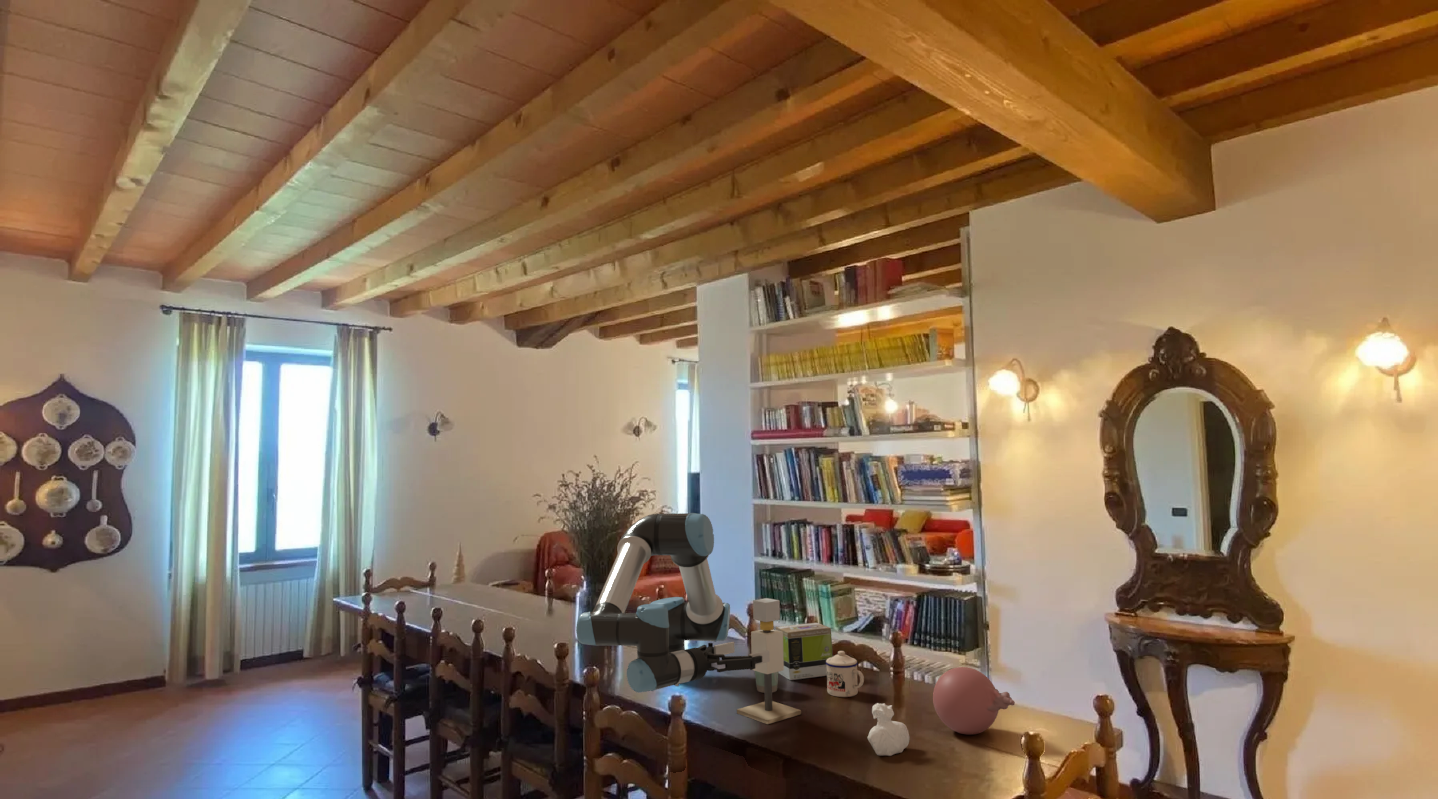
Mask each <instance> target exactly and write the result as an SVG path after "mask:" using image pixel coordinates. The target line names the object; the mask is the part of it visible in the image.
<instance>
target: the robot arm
mask: <svg viewBox="0 0 1438 799" xmlns="http://www.w3.org/2000/svg"><path fill="white" fill-rule="evenodd" d="M714 536H715V535H714V528H713V524H712V521H711V519H710V517H709V516H707V515H706V514H704V513H695V512H690V513H689V512H688V513H683V512H682V513H651V514H648V515H646V516H644V517H641V518H640V519H638V520H636V521H635V522H634V523H633V524H631V525H630V526H629V527H628V528H627V529H626V531H624V533H623V534H622V535H621V537H620V539H619V541H618V544H617V547H616V549H617V550H616V551H617V555H616V557H615V560H614V562H613V564H612V566H611V569H610V571H609V574H608V576H607V578H606V581H605V583H604V585H603V588H602V589H601V592H600V595H599V597H598V600H597V601H596V604H595V606H594V608H593V610H592V611H588V612H582V613H580V614H579V616H578V618H577V621H576V626H575V628H576V630H575V631H576V637H577V641H578V642H579V643H580V644H582V645H587V646H588V645H589V646H594V647H595V646H622V647H623V646H624V647H626V646H627V647H636V651H637V652H636V653H637V654H636V658H635V659H633V660H631V661H630V662H629V663H628V664H627V669H626V679H627V682H628V685H629V687H630V688H631V690H632V691H633V692H636V693H641V694H642V693H646V692H654V691H657V690H660V689H664V688H668V687H672V686H675V687H679V686H680V684H685V683H688V682H693V681H698V680H702V679H703V678H704V677H705V676H706V674H707V672H708V671H709V672H711V671H715V670H716V672H717V673H723V672H728V671H729V672H731V671H742V670H744V671H745V670H750V671H754V670H753V669H755V665H757V664H762V663H766V662H770V658H769V651H768V650H766V651H762V652H757V653H753V654H752V653H749V654H748V655H729V654H733V653H735V642H734V641H729V642H724V641H726V640H727V638H728V636H729V631H730V630H729V629H730V619H731V604H729V603H728V602H725V601H723V600H722V598H721V597H720V596H719V595H718V594H716V591H715V585H714V581H713V577H712V573H711V568H710V565H709V561H708V557H709V556H710V555H711V554H712V553H713V550H714V546H715V537H714ZM652 556H670V558H671V561H672V563H673V564H675V565H676V566H678V568H679V571H680V576H681V578H682V582H683V583H682V584H683V586H684V590H685V594H686V597H687V600H688V601H687V602H685V598H684V597H682V596H680V597H679V596H673V597H666V598H661V599H658V600H657V599H656V600H654V601H651V602H650V603H649V604H648V603H646V604H641V605H639V606H637V608H636V612H626V610H627V608H628V605H629V603H630V600H631V598H632V596H633V593H634V590H635V588H636V584H637V581H639V580H638V579H639V577H640V576H641V571H642V569H643V567H644V564H645V563H647V562H648V561H649V560H650V558H651V557H652ZM685 641H695V642H696V641H697V642H698V641H699V642H700V641H701V642H708V643H707V644H708V646H707V644H703V645H700V646H698V647H691V648H685ZM712 642H713V643H712ZM716 642H724V643H719V644H716V645H713V644H714V643H716ZM726 655H728V656H726Z"/></svg>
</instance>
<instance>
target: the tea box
mask: <svg viewBox="0 0 1438 799" xmlns="http://www.w3.org/2000/svg"><path fill="white" fill-rule="evenodd" d="M775 630H777V631H782V632H783V658H784V670H783V671H779V672H778V675H781V676H782V677H783V678H785V679H787V680H788V681H794V680H802V679H803V680H804V679H811V678H819V677H827V664H826V660H827V659H828V658H831V657H833V656H834V655H833V642H832V628H831V627H829V626H826V625H824V624H821V623H819V622H810V623H799V624H792V625H791V624H789V625H781V626H776V627H775Z"/></svg>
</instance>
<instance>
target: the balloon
mask: <svg viewBox="0 0 1438 799" xmlns="http://www.w3.org/2000/svg"><path fill="white" fill-rule="evenodd" d="M932 692H933V694H932V702H933V703H932V704H933V707H934V710H935V712H936V715H937V716H938V718H939V719H940V721H941V722H942V723H943V724H944V725H945V726H946V727H947V728H949V729H950V730H951V731H954V732H955V733H958V734H962V735H970V736H971V735H977V734H980V733H983V732H985V731H986V730H989V728H991V726H992V725H993V724H994V722H995V721H996V719H997V717H998V714H999V710H1007V709H1008V708H1009V706H1014V705H1015V700H1013V699H1012V697H1011V695H1010V693H1009V692H1008V691H1004V692H1000V691H999V690H998V689H997V688H996V687H995V685H994V684H993V682H992V681H991V680H990V678H988V677H987V675H986V674H984V673H983V672H981V671H979V670H977V669H975V668H972V667H966V666H957V667H954V668H951V669H949V670H946V671H945V672H944V673H943V674H942V675H941V676H939V677H938V678H937V681H936V683H935V685H934V688H933V691H932Z"/></svg>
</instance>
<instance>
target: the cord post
mask: <svg viewBox="0 0 1438 799" xmlns="http://www.w3.org/2000/svg"><path fill="white" fill-rule="evenodd" d="M780 602H781V601H780V600H779V599H774V598H769V597H765V598H761V599H753V601H752V610H753V612H752V614H753V615H752V616H753V620H755V621H759V630H763V633H771V630H775V629H774V628H775V627H774V626H775V625H774V621H779V620H781V612H780V611H781V610H780V609H781V608H780V606H781V605H780ZM764 691H765V693H764V702H765V710H766V711H772V701H773V692H772V673H771V674H764Z"/></svg>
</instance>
